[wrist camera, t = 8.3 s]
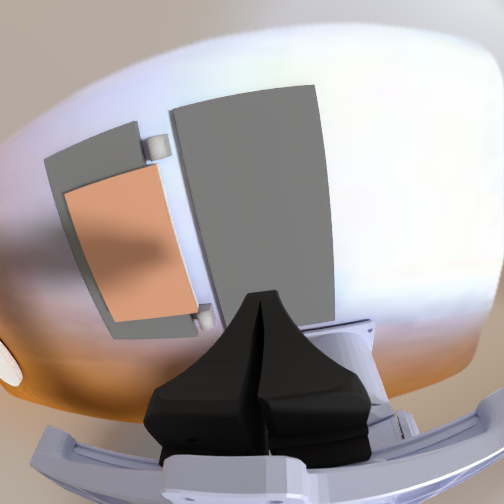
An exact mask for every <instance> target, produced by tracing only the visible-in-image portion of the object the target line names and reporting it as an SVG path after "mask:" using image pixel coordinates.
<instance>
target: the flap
mask: <svg viewBox="0 0 504 504" xmlns="http://www.w3.org/2000/svg"><path fill="white" fill-rule="evenodd" d="M64 196H65V199H66V202H67V206H68V209H69V212H70V215H71V218H72V221H73V224H74V227H75V230H76V233H77V236H78V238H79V241H80V244H81V247H82V249H83V252H84V254H85V257H86V259H87V262H88V264H89V267H90V269H91V272H92V274H93V276H94V279H95V281H96V283H97V285H98V288H99V290H100V292H101V294H102V296H103V299H104V301H105V303H106V305H107V307H108V309H109V311H110V313H111V315H112V317H113V319H114V321H115V322H121V321H131V320H141V319H150V318H159V317H167V316H175V315H183V314H191V313H197V312H198V307H199V305H198V302H197V298H196V295H195V292H194V289H193V286H192V283H191V280H190V277H189V273H188V270H187V267H186V264H185V260H184V257H183V254H182V250H181V247H180V243H179V240H178V236H177V233H176V229H175V226H174V222H173V218H172V215H171V211H170V207H169V203H168V199H167V196H166V192H165V188H164V184H163V180H162V175H161V171H160V167H159V163H157V164H154V165H150V166H146V167H143V168H139V169H136V170H132V171H129V172H126V173H123V174H119V175H116V176H113V177H110V178H107V179H104V180H101V181H98V182H95V183H92V184H89V185H86V186H83V187H81V188H78V189H75V190H72V191H70V192H68V193H66V194H64Z"/></svg>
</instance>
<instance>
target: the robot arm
mask: <svg viewBox="0 0 504 504" xmlns="http://www.w3.org/2000/svg"><path fill="white" fill-rule="evenodd" d="M370 328H371V329H370ZM369 329H370V330H369ZM374 332H375V322H374V321H373V320H369V321H364V322H359V323H354V324H348V325H343V326H337V327H331V328H325V329H319V330H312V331H306V332H301V330H300V329H299V328H298V327H297V325H296V324H295V323H294V322H293V320H292V319H291V317H290V316H289V314H288V312H287V311H286V309H285V308H284V306H283V304H282V302H281V299H280V297H279V293H278V291H277V290H268V291H260V292H253V293H247V295H246V296H245V298H244V300H243V302H242V304H241V306H240V308H239V309H238V311H237V313H236V314H235V316H234V318H233V319H232V321H231V322H230V324H229V325H228V327H227V328H226V330H225V331H224V332H223V334H222V335H221V336H220V338H219V339H218V340H217V341H216V343H215V344H214V345H213V346H212V347H211V348H210V349H209V350H208V351H207V352H206V353H205V354H204V355H203V356H202V357H201V358H200V359H199V360H198V361H197V362H195V363H194V364H193V365H192V366H191V367H189V368H188V369H187V370H185V371H184V372H183V373H181V374H180V375H178V376H177V377H175V378H174V379H172V380H170V381H169V382H167V383H165V384H164V385H162V386H160V387H158V388H157V389H155V390H154V393H153V395H152V397H151V399H150V402H149V405H148V408H147V411H146V414H145V417H144V420H143V422H144V426H145V428H146V429H147V430H148V432H149V433H150V434H151V435H152V436H153V437H154V439H156V441H157V442H158V443H159V444H160V445H161V446H162V451H161V456H160V460H157V459H150V458H144V457H138V456H133V455H128V454H123V453H119V452H114V451H109V450H106V449H102V448H98V447H94V446H91V445H87V444H84V443H81V442H77V441H76V440H75V439H74V438H73V437H72V436H71V435H70V434H68V433H67V432H65V431H63V430H61V429H58V428H55V427H52V426H49V425H47V427H46V429H45V431H44V433H43V435H42V437H41V439H40V441H39V443H38V446H37V448H36V450H35V452H34V454H33V457H32V459H31V462H30V466H31V467H33V468H34V469H36V470H37V471H38V472H40V473H41V474H42V475H44V476H45V477H47V478H48V479H50V480H51V481H53V482H54V483H56V484H58V485H59V486H61V487H63V488H64V489H66V490H68V491H70V492H73V493H75V494H77V495H80V496H82V497H84V498H86V499H89V500H91V501H94V502H96V503H99V504H421V503H422V502H423V501H424V500H427V499H429V498H431V497H433V496H435V495H438V494H440V493H442V492H444V491H446V490H448V489H450V488H452V487H454V486H456V485H457V484H459V483H461V482H463V481H465V480H467V479H468V478H470V477H472V476H474V475H475V474H477V473H479V472H480V471H482V470H484V469H486V468H487V467H489V466H490V465H492V464H494V463H495V462H497V461H498V460H500V459H501V458H502V457H503V456H504V387H502V388H500V389H498V390H497V391H495V392H493V393H491V394H489V395H488V396H486V397H485V398H484V399H483V400H482V401H481V402H480V403H479V405H478V407H477V408H476V410H475V411H472V412H470V413H468V414H466V415H464V416H462V417H460V418H458V419H455V420H453V421H451V422H449V423H446V424H444V425H442V426H439V427H437V428H434V429H432V430H429V431H426V432H424V433H421V434H419V432H418V429H417V426H416V423H415V421H414V419H413V416H412V414H411V413H410V412H408V411H404V410H403V409H400V410H398V411H396V414H397V418H398V421H399V426H400V430H401V433H402V435H401V433H400V430H399V427H398V423H397V421H396V418H395V415H394V412H393V409H392V406H391V403H390V402H389V401H388V398H387V395H386V392H385V389H384V386H383V384H382V381H381V378H380V375H379V373H378V370H377V367H376V365H375V362H374V359H373V357H372V354H371V353H372V347H373V340H374ZM269 450H270V452H271V455H272V456H269Z"/></svg>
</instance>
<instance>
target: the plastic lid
mask: <svg viewBox="0 0 504 504" xmlns="http://www.w3.org/2000/svg"><path fill="white" fill-rule="evenodd" d="M0 378H1V379H2V380H3V381H5V382H7V383H9V384H10V385H12V386H18V385H19V384H20V382H21V380H22V379H23V377H22V372H21V370H20V368H19V366H18V365H17V363H16V361H15V360H14V358H13V357H12V355H11V354H10V352H9V351H8V350H7V349H6V348H5V346H4V345H3V344H2V343H1V342H0Z"/></svg>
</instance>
